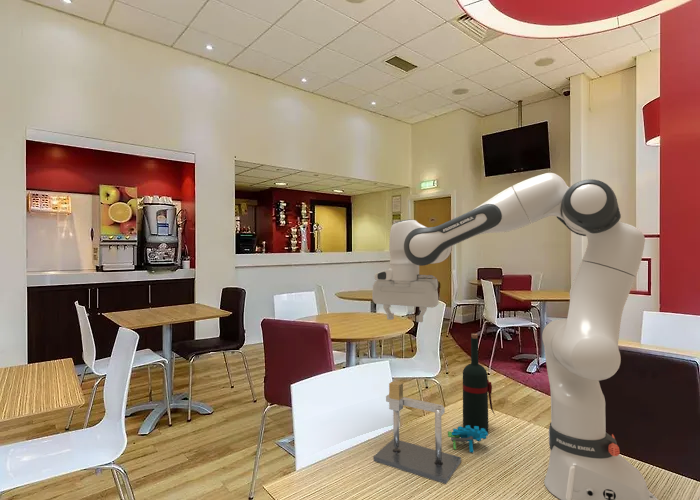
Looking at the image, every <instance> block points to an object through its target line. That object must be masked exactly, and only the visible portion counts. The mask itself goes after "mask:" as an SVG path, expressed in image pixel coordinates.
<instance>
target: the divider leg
mask: <svg viewBox="0 0 700 500" xmlns="http://www.w3.org/2000/svg"><path fill="white" fill-rule="evenodd" d="M403 384H404V383H403V382H401V381H400V382H399V381H394V380H392V381H391V382H390V383H388V387H389V388H388V392H389V393H388V395H389V402H388V403H389V404H388V406H389V407H388V409H389V410H392V411H393V412H392V413H393V415H392V416H393V417H392V421H393V423H392V425H393V426H392V427H393V429H392V430H393V439H394V447H395V449H398V448H399V440H400V412H401V411H402V410H403V408H404V405H403V397H404V385H403Z"/></svg>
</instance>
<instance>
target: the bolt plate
mask: <svg viewBox="0 0 700 500" xmlns="http://www.w3.org/2000/svg"><path fill="white" fill-rule="evenodd" d="M373 462H376V463H379V464H382V465H385V466H389V467H392V468H394V469H397V470H401V471H404V472H407V473H411V474H413V475H416V476H420V477H423V478H426V479H429V480H432V481H435V482H439V483H441V484H445V485H447V483H448V481H449V480H450V478H451V477H452V475H454V473H455V471H456V470H457V469H458V467H459V466H460V464H461V462H462V457H461V456H457V455H454V454H451V453H447V452H443V451H442V464H440V465H438V464H436V463H435V449H432V448H428V447H427V446H426V447H425V446H421V445H418V444H414V443H411V442H407V441H405V440H404V441H403V440H400V439H399V448H398V449H395V447H394V438H392V439H391V440H390V441H389V442H388V443H387V444H386V445H385V446H383V448H381V449H380V450H379V451H377V452H376V453H375V455H373Z"/></svg>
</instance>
